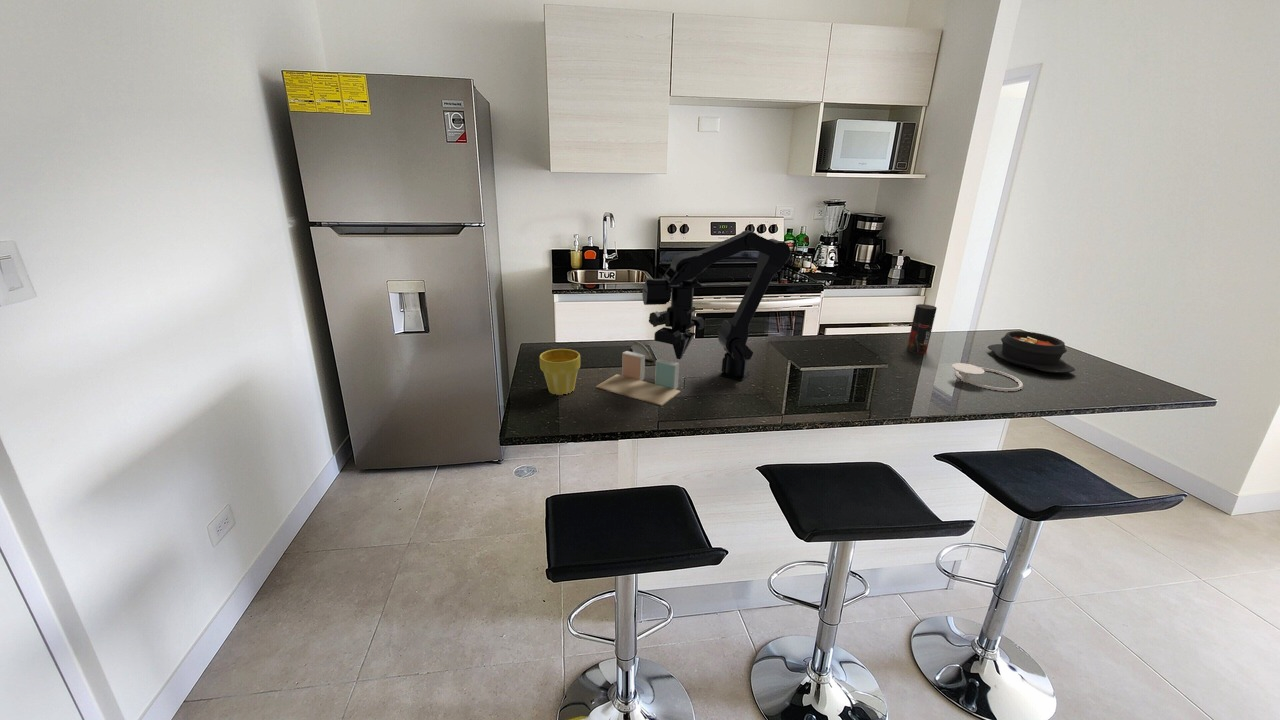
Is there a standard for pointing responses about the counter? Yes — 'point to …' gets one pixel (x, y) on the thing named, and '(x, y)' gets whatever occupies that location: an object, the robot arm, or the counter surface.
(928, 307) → the deodorant
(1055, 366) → the casserole
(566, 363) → the plant pot
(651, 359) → the ceramic fragment
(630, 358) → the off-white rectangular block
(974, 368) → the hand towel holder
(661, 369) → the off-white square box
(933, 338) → the counter surface
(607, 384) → the cork mat
